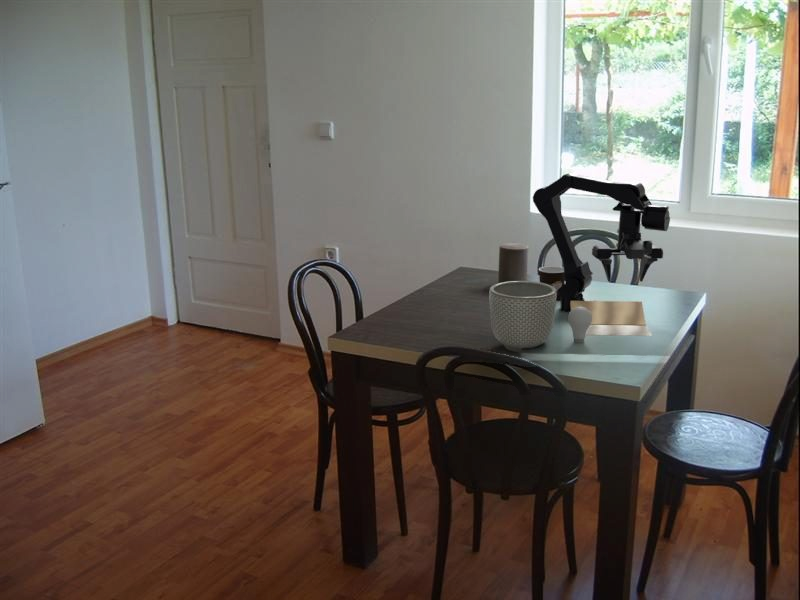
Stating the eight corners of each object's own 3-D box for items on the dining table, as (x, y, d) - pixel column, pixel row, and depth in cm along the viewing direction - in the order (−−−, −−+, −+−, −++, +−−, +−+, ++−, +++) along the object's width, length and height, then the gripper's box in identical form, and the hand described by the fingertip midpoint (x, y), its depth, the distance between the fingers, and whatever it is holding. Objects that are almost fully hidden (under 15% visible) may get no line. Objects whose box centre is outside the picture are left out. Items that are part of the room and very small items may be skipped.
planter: (485, 356, 210) (486, 296, 206) (490, 335, 226) (491, 279, 222) (554, 360, 207) (556, 298, 203) (554, 338, 223) (556, 281, 219)
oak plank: (572, 327, 231) (572, 323, 230) (570, 304, 238) (570, 300, 237) (645, 328, 229) (645, 324, 228) (641, 304, 236) (641, 301, 235)
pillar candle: (499, 289, 274) (500, 245, 269) (497, 281, 283) (498, 239, 279) (528, 289, 273) (530, 245, 269) (525, 282, 283) (527, 239, 278)
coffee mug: (537, 303, 256) (538, 272, 254) (537, 296, 265) (538, 266, 262) (575, 304, 254) (576, 273, 252) (574, 297, 263) (576, 267, 260)
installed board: (576, 339, 222) (576, 334, 222) (572, 329, 231) (572, 324, 230) (652, 341, 220) (652, 335, 220) (645, 330, 229) (646, 325, 228)
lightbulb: (569, 342, 220) (570, 302, 217) (592, 344, 218) (594, 304, 215) (564, 349, 215) (566, 309, 212) (588, 352, 212) (590, 311, 209)
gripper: (604, 233, 221) (600, 289, 226) (672, 233, 222) (667, 288, 227) (593, 225, 232) (589, 279, 236) (658, 225, 233) (653, 278, 237)
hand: (624, 281), depth 234 cm, fingers open, 9 cm apart
